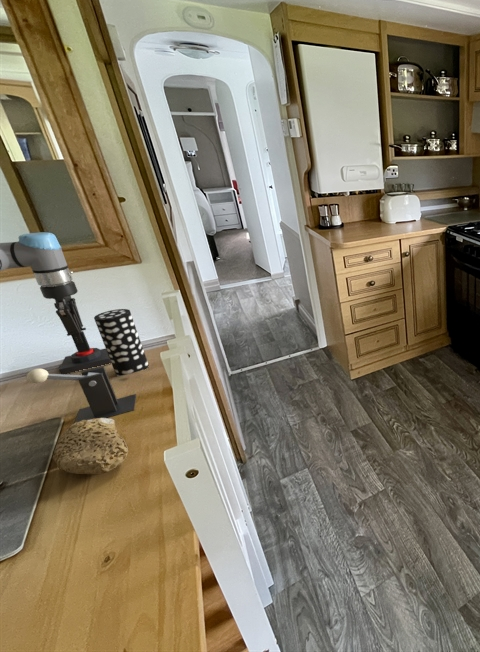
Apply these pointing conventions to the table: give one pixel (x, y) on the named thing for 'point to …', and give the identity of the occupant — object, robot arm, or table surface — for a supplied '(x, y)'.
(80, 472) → the sponge
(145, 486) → the table surface
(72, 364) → the red push button box
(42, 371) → the switch lever
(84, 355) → the power button
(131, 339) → the white-spotted black cylinder
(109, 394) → the lever base
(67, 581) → the table surface
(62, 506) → the table surface
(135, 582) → the table surface
